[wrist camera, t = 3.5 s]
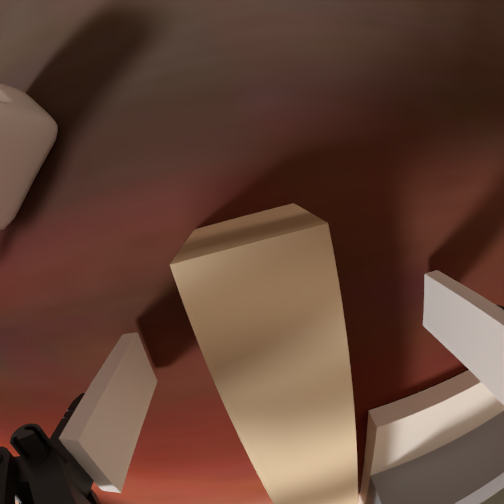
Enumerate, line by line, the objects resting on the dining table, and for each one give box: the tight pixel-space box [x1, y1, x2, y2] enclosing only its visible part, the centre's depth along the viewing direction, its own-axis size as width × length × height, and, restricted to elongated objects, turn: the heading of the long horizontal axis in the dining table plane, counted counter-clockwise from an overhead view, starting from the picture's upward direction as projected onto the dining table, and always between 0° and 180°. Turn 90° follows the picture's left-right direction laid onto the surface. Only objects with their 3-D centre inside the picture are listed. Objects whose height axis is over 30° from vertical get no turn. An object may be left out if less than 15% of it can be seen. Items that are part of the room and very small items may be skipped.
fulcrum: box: [358, 370, 504, 504], centre depth 14 cm, size 16×12×6 cm
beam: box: [170, 203, 358, 504], centre depth 13 cm, size 24×4×5 cm, turn 14°
